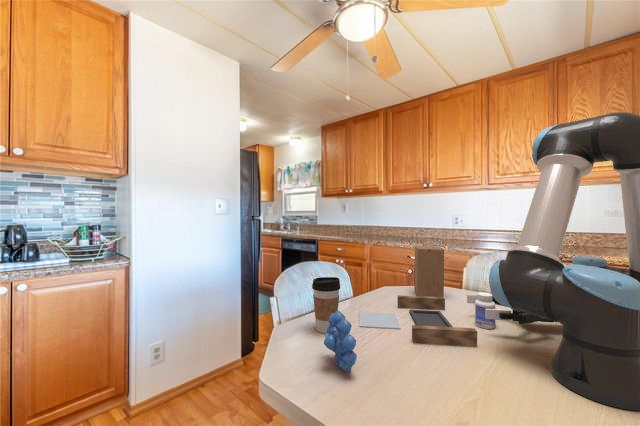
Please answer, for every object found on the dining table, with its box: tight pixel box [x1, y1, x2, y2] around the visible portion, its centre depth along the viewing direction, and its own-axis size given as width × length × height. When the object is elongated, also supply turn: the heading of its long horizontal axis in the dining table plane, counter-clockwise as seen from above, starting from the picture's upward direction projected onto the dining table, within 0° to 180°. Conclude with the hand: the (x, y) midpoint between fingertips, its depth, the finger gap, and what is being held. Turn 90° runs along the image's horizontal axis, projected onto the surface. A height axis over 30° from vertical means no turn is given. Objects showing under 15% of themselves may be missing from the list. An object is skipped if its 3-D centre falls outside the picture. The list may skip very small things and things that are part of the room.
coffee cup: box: [311, 276, 341, 334], centre depth 85 cm, size 8×8×15 cm
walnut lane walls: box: [397, 295, 478, 348], centre depth 90 cm, size 16×29×4 cm, turn 173°
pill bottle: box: [474, 292, 496, 330], centre depth 88 cm, size 5×5×10 cm
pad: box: [358, 311, 401, 330], centre depth 92 cm, size 12×12×1 cm
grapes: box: [323, 310, 358, 373], centre depth 65 cm, size 12×7×12 cm, turn 22°
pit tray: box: [408, 309, 454, 327], centre depth 90 cm, size 10×16×1 cm, turn 173°
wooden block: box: [413, 245, 445, 298], centre depth 118 cm, size 10×10×20 cm
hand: (475, 305), depth 88 cm, fingers open, 13 cm apart
